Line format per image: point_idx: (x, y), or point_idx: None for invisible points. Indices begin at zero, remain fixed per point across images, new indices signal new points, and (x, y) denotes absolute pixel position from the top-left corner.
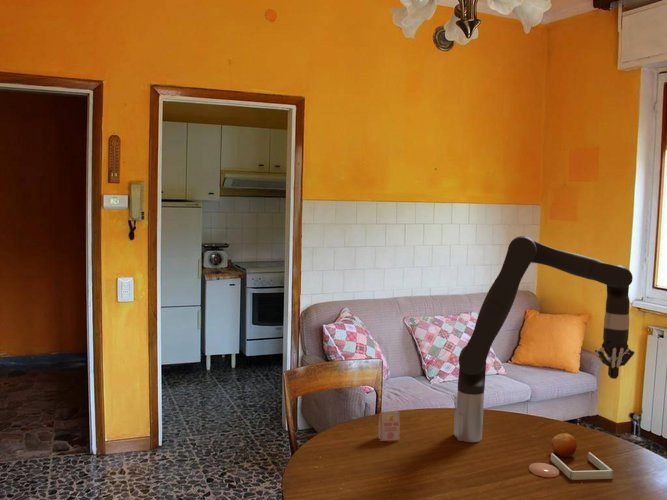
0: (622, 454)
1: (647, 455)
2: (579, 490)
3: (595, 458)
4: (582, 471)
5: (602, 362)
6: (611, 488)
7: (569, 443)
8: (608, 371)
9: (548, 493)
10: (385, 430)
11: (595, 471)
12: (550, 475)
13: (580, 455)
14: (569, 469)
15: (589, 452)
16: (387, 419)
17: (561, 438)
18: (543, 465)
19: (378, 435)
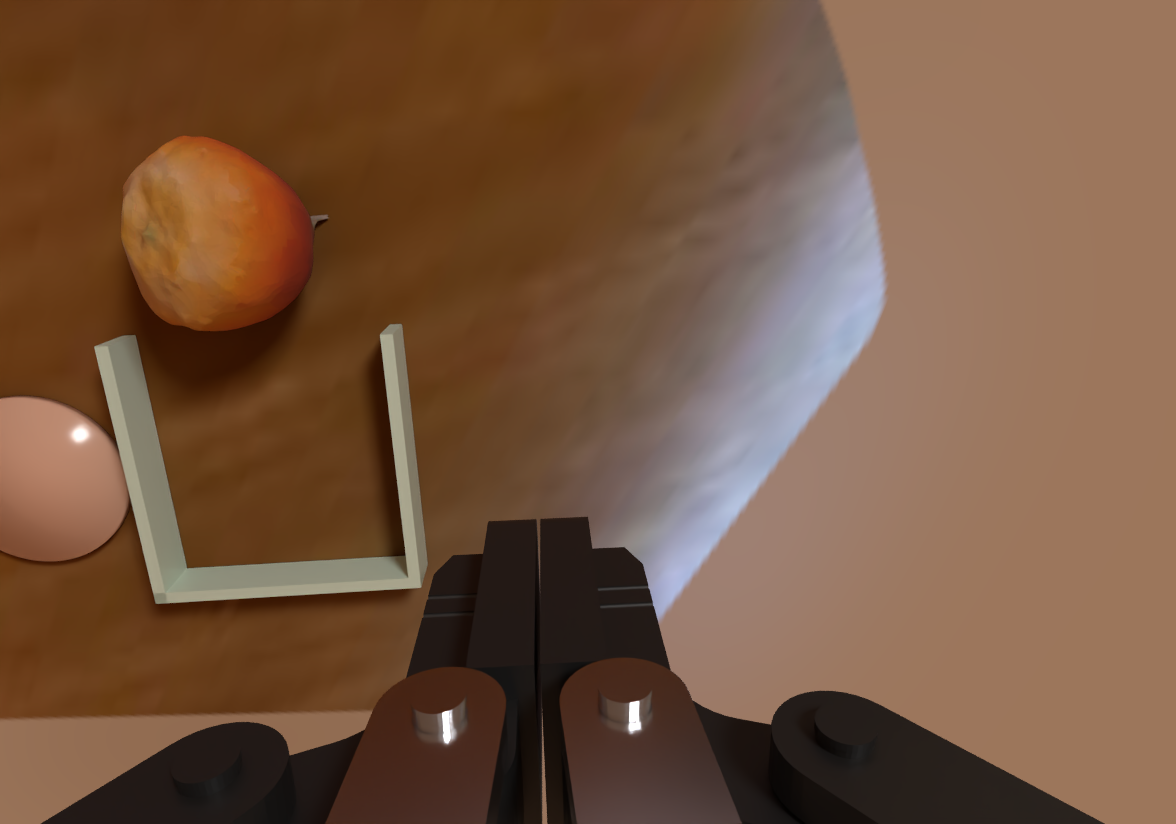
0: (670, 246)
1: (830, 264)
2: (188, 680)
3: (391, 421)
4: (227, 598)
5: (125, 780)
6: (370, 659)
7: (217, 327)
8: (425, 625)
9: (9, 710)
10: None
11: (310, 593)
12: (55, 560)
13: (365, 258)
14: (154, 574)
15: (386, 337)
16: None
17: (154, 281)
18: (41, 435)
19: None
